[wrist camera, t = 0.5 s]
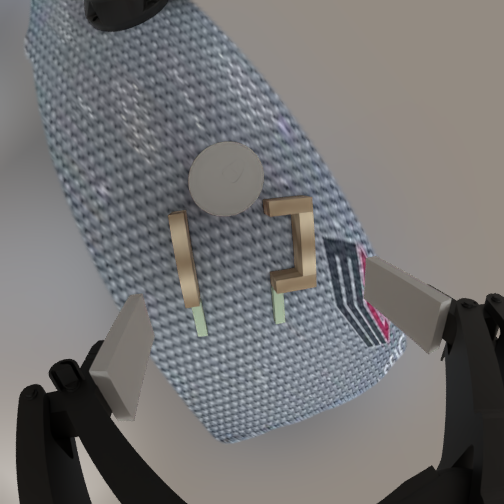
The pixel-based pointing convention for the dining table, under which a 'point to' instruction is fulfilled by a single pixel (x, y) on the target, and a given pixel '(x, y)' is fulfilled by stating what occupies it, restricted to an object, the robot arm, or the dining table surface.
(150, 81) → the dining table surface
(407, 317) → the robot arm
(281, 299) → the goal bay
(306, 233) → the lane
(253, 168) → the canned food
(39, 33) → the dining table surface
